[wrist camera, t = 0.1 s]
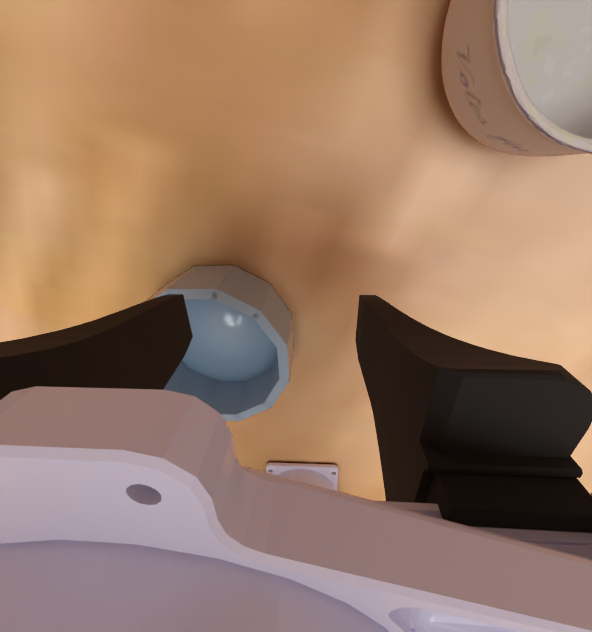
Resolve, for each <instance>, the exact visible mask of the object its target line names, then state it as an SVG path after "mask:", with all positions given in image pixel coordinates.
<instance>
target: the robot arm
mask: <svg viewBox="0 0 592 632" xmlns="http://www.w3.org/2000/svg"><path fill="white" fill-rule="evenodd" d="M192 337H193V335H192V331H191V326H190V322H189V317H188V313H187V309H186V304H185V300H184V295H183V294H168V295H163V296H160V297H156V298H153V299H151V300H148V301H145V302H143V303H140V304H137V305H135V306H132V307H130V308H127V309H124V310H122V311H119V312H116V313H113V314H111V315H108V316H105V317H102V318H100V319H97V320H94V321H91V322H87V323H84V324H81V325H77V326H74V327H70V328H67V329H63V330H59V331H55V332H50V333H46V334H41V335H37V336H32V337H28V338H23V339H17V340H12V341H6V342H0V632H592V493H590V494H589V493H588V491H587V490H586V489H585V488H584V486H583V485H582V484H581V483H580V482H579V480H578V479H577V478H580V477H581V476H582V474H583V473H582V469H581V468H580V467H579V465H578V464H577V463H576V462H575V461H574V460H573V459H572V457H571V454H572V453H573V451H574V449H575V448H576V446H577V445H578V443H579V442H580V440H581V439H582V437H583V436H584V434H585V433H586V431H587V430H588V428H589V426H590V424H591V422H592V393H591V391H590V390H589V389H587V388H586V387H585V386H584V385H583V384H582V383H581V382H579V381H578V380H577V379H576V378H575V377H574V376H572V375H571V374H570V373H569V372H568V371H567V370H566V369H564V368H563V367H562V366H561V365H558V364H553V363H548V362H542V361H537V360H532V359H527V358H522V357H516V356H512V355H508V354H504V353H500V352H496V351H492V350H489V349H485V348H482V347H478V346H475V345H472V344H469V343H466V342H463V341H460V340H457V339H455V338H452V337H450V336H447V335H445V334H442V333H440V332H438V331H436V330H433V329H431V328H429V327H427V326H425V325H423V324H421V323H420V322H418V321H416V320H414V319H412V318H411V317H409V316H407V315H406V314H404V313H402V312H401V311H399V310H398V309H396V308H395V307H393V306H392V305H390V304H389V303H387V302H386V301H384V300H383V299H381V298H380V297H378V296H376V295H360V296H359V307H358V318H357V329H356V346H357V353H358V360H359V363H360V367H361V370H362V374H363V377H364V381H365V384H366V388H367V391H368V395H369V398H370V402H371V406H372V410H373V415H374V421H375V427H376V433H377V439H378V446H379V452H380V459H381V466H382V473H383V481H384V488H385V495H386V501H372V500H368V499H365V498H361V497H357V496H353V495H350V494H346V493H342V492H338V491H337V487H338V466H337V465H332V464H301V463H271V462H270V463H267V464H266V472H263V471H260V470H256V469H252V468H248V467H245V466H241V465H240V464H239V462H238V460H237V457H236V454H235V448H234V443H233V438H232V434H231V432H230V430H229V428H228V427H227V425H226V423H225V421H224V419H223V418H222V416H221V414H220V413H219V412H218V411H217V410H215V409H214V408H212V407H211V406H209V405H208V404H206V403H205V402H203V401H202V400H200V399H199V398H197V397H196V396H192V395H187V394H183V393H178V392H174V391H169V390H163V389H164V388H165V386H166V384H167V383H168V381H169V380H170V378H171V377H172V375H173V374H174V372H175V370H176V369H177V367H178V366H179V364H180V362H181V361H182V359H183V358H184V356H185V354H186V352H187V350H188V347H189V345H190V342H191V340H192Z"/></svg>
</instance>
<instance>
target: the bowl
mask: <svg viewBox="0 0 592 632" xmlns="http://www.w3.org/2000/svg"><path fill="white" fill-rule="evenodd" d="M168 294H183V295H184V300H185V304H186V309H187V313H188V317H189V322H190V326H191V331H192V335H193V337H192V340H191V342H190V345H189V347H188V350H187V352H186V354H185V356H184V358H183V359H182V361H181V362H180V364H179V366H178V367H177V369H176V370H175V372H174V374H173V375H172V377H171V378H170V380H169V381H168V383H167V384H166V386H165V388H164V389H163V390H169V391H174V392H178V393H183V394H187V395H192V396H196V397H197V398H199V399H200V400H202V401H203V402H205V403H206V404H208V405H209V406H211V407H212V408H214V409H215V410H217V411H218V412H219V413H220V414H221V416H222V418H223V419H224V421H241V420H243V419H246V418H248V417H250V416H253V415H255V414H257V413H260V412H262V411H265V410H267V409H269V408H271V407H272V406H273V404H274V403H275V401H276V400H277V398H278V397H279V396H280V394H281V393H282V391H283V390H284V388H285V387H286V385H287V384H288V383H289V381H290V373H291V364H292V356H293V347H294V344H293V323H292V314H291V312H290V311H289V309H288V308H287V306H286V305H285V304H284V302H283V301H282V299H281V298H280V296H279V295H278V294H277V292H276V291H275V289H274V288H273V286H272V285H271V284H270V283H268V282H266V281H264V280H262V279H260V278H258V277H256V276H254V275H252V274H250V273H248V272H246V271H244V270H242V269H240V268H239V267H237V266H235V265H216V266H193V267H192V268H190V269H189V270H187V271H186V272H184V273H183V274H181V275H180V276H178V277H177V278H175V279H174V280H172V281H171V282H169V283H168V284H166V285H165V286H164V287H162V288H161V289H160V290H159V291H157V292H156V293H155V294H154V295H153V296H151V297H150V298H149V299H148V300H151V299H153V298H156V297H160V296H163V295H168ZM148 300H147V301H148Z"/></svg>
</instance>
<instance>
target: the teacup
mask: <svg viewBox="0 0 592 632" xmlns="http://www.w3.org/2000/svg"><path fill="white" fill-rule="evenodd" d="M441 59H442V78H443V83H444V89H445V93H446V96H447V99H448V102H449V105H450V107H451V109H452V111H453V113H454V115H455V117H456V119H457V120H458V122H459V123H460V124H461V126H462V127H463V128H464V129H465V130H466V131H467V132H468V133H469V134H470V135H471V136H472V137H473V138H475V139H476V140H477V141H479V142H480V143H482V144H484V145H486V146H488V147H490V148H492V149H494V150H497V151H500V152H504V153H507V154H513V155H520V156H560V155H573V154H585V153H590V154H592V0H451V1H450V5H449V9H448V13H447V16H446V21H445V26H444V33H443V39H442V56H441Z"/></svg>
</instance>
